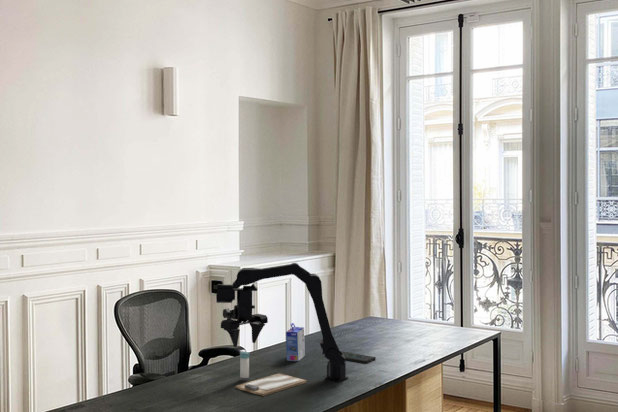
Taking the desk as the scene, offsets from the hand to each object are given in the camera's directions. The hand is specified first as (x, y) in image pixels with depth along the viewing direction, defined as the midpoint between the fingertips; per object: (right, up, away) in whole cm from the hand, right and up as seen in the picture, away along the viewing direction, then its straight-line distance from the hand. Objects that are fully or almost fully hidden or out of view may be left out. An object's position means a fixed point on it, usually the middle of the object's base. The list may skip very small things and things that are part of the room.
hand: (244, 344), depth 254 cm
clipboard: (+10, -13, -6) cm, 18 cm away
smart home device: (+41, -13, +33) cm, 54 cm away
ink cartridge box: (+18, -12, +33) cm, 39 cm away
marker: (0, -13, 0) cm, 13 cm away
